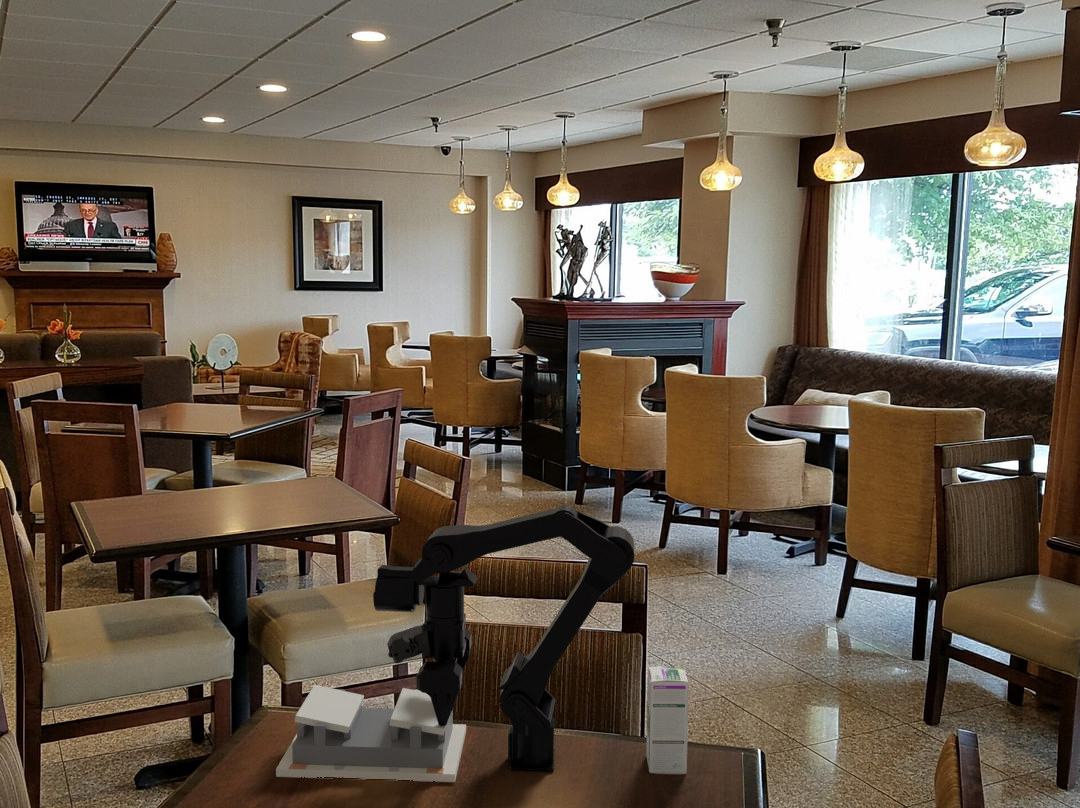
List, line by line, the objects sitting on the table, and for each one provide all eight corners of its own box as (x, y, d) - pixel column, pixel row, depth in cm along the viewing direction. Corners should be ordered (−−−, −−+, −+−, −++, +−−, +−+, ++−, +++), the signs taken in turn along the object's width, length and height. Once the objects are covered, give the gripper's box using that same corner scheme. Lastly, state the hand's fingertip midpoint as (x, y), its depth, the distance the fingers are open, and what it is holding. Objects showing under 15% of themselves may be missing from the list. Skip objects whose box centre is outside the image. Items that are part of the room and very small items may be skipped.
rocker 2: (451, 706, 155) (452, 697, 155) (442, 739, 144) (444, 728, 144) (401, 697, 155) (402, 687, 155) (388, 729, 144) (390, 719, 144)
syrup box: (687, 775, 145) (691, 681, 144) (647, 774, 146) (650, 680, 144) (682, 756, 151) (686, 666, 149) (644, 755, 151) (647, 665, 149)
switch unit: (466, 731, 158) (466, 688, 157) (455, 782, 142) (455, 734, 141) (305, 726, 159) (304, 684, 158) (276, 776, 143) (275, 729, 142)
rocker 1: (362, 704, 155) (364, 695, 155) (347, 737, 144) (349, 726, 144) (312, 694, 155) (314, 684, 155) (293, 725, 144) (295, 715, 144)
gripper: (401, 592, 157) (403, 685, 159) (379, 634, 138) (381, 739, 140) (471, 592, 156) (472, 686, 158) (458, 635, 138) (460, 740, 140)
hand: (446, 711), depth 149 cm, fingers open, 9 cm apart
